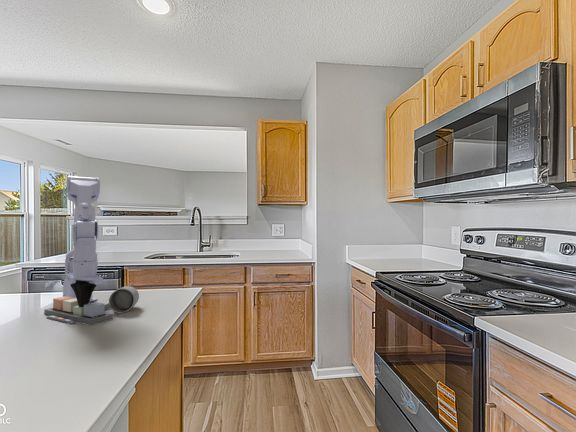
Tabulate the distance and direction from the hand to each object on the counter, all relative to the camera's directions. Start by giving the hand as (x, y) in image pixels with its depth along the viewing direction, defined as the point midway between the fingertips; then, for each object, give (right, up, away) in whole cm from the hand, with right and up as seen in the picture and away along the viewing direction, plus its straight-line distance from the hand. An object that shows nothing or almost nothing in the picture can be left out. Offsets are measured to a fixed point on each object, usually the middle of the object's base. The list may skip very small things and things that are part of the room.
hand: (83, 306), depth 101 cm
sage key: (0, -3, 0) cm, 3 cm away
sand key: (-5, -2, +2) cm, 5 cm away
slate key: (+4, -2, -2) cm, 5 cm away
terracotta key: (-9, -2, +4) cm, 10 cm away
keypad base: (-2, -3, +1) cm, 4 cm away
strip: (-5, -3, -3) cm, 7 cm away
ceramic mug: (+7, -4, +9) cm, 12 cm away
